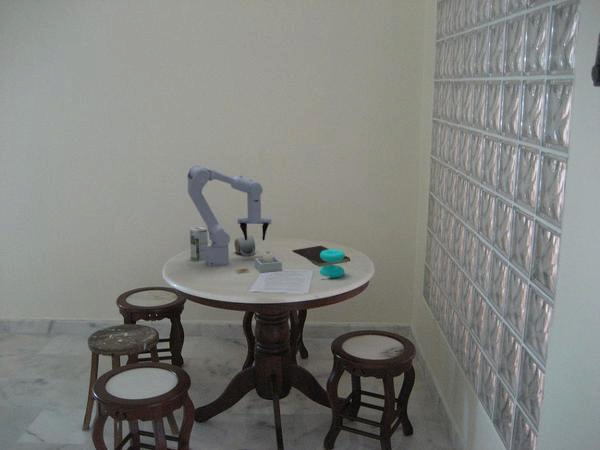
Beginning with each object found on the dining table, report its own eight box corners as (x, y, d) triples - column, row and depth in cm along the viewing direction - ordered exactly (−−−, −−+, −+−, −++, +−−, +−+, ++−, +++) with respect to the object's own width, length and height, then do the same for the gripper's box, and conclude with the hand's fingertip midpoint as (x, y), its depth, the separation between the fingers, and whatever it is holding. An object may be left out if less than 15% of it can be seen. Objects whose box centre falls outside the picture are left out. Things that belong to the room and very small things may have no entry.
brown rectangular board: (236, 279, 265) (236, 276, 265) (229, 270, 277) (229, 267, 277) (284, 274, 271) (284, 271, 271) (275, 265, 283) (275, 262, 283)
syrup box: (190, 260, 292) (188, 228, 289) (201, 257, 296) (199, 226, 293) (197, 262, 288) (196, 230, 285) (208, 260, 292) (207, 228, 289)
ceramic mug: (233, 251, 305) (233, 235, 303) (250, 249, 308) (250, 234, 306) (240, 258, 295) (240, 241, 293) (258, 256, 298) (257, 239, 297)
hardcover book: (319, 267, 282) (319, 262, 281) (292, 255, 301) (292, 250, 301) (350, 262, 290) (350, 257, 289) (322, 250, 309) (322, 245, 308)
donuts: (343, 255, 262) (318, 254, 264) (343, 279, 264) (318, 278, 266) (345, 248, 272) (321, 247, 273) (345, 272, 274) (321, 271, 276)
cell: (266, 269, 272) (266, 253, 271) (261, 266, 276) (261, 251, 274) (275, 267, 275) (274, 252, 273) (269, 264, 278) (269, 249, 276)
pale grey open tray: (260, 272, 270) (260, 264, 269) (255, 266, 278) (254, 258, 277) (281, 270, 273) (281, 262, 272) (275, 264, 281) (275, 256, 280)
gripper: (236, 211, 282) (236, 241, 285) (269, 211, 281) (270, 242, 284) (238, 207, 289) (239, 237, 292) (271, 208, 288) (272, 238, 291)
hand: (254, 239), depth 289 cm, fingers open, 7 cm apart
